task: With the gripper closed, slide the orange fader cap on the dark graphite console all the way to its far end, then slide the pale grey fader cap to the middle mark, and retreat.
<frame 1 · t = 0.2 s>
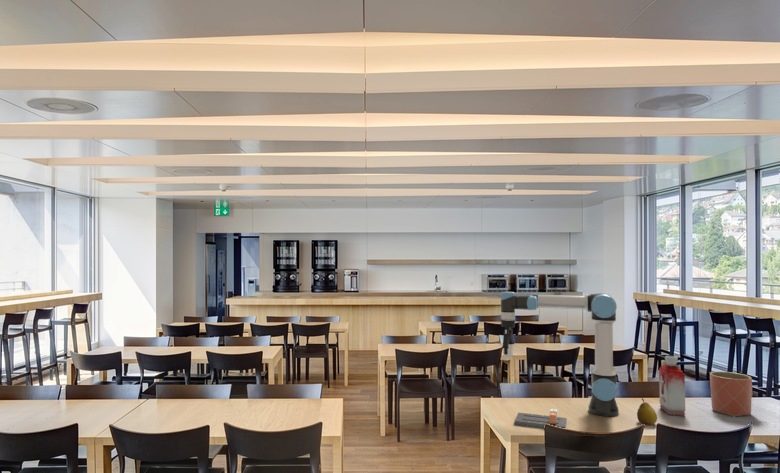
hand: (508, 358, 279), 28 cm above the table, fingers open, 13 cm apart
fruit: (647, 423, 255), on the table
bottle: (672, 412, 274), on the table
console: (540, 423, 254), on the table
fader orange: (552, 418, 248), point 4 cm above the table, slide at 1.0 cm
fader grey: (553, 414, 255), point 4 cm above the table, slide at 1.0 cm
planter: (731, 412, 274), on the table
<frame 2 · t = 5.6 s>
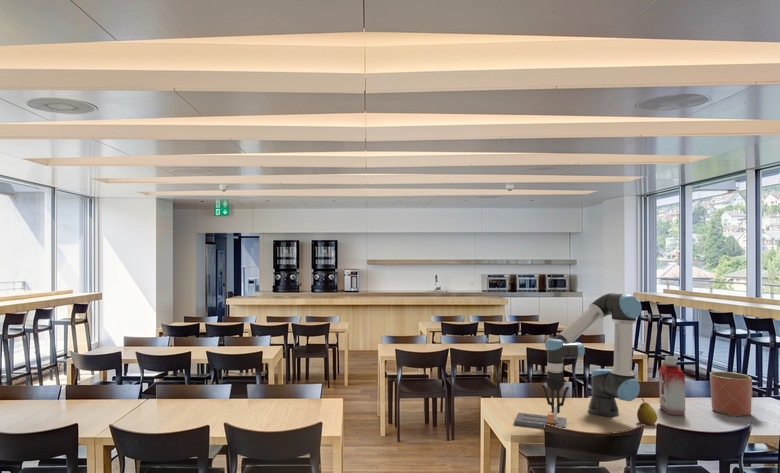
hand: (555, 419, 248), 4 cm above the table, fingers closed
fader orange: (550, 417, 249), point 4 cm above the table, slide at 1.9 cm, touching gripper
everything else where it was.
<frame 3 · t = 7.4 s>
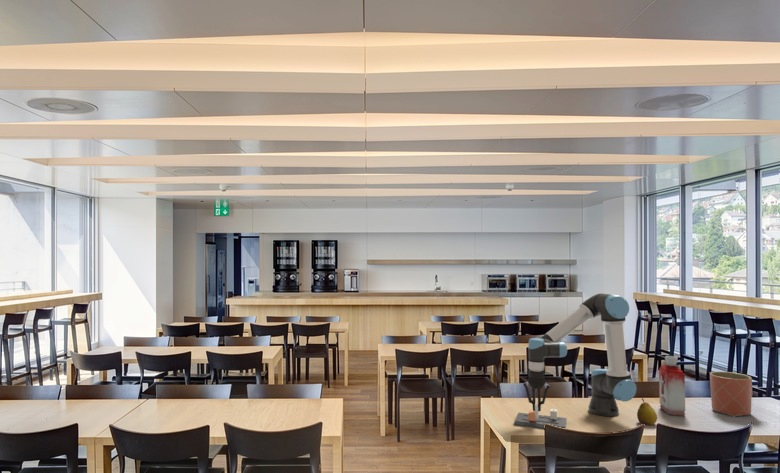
hand: (536, 417, 251), 4 cm above the table, fingers closed
fader orange: (532, 415, 252), point 4 cm above the table, slide at 10.9 cm, touching gripper
everything else where it was.
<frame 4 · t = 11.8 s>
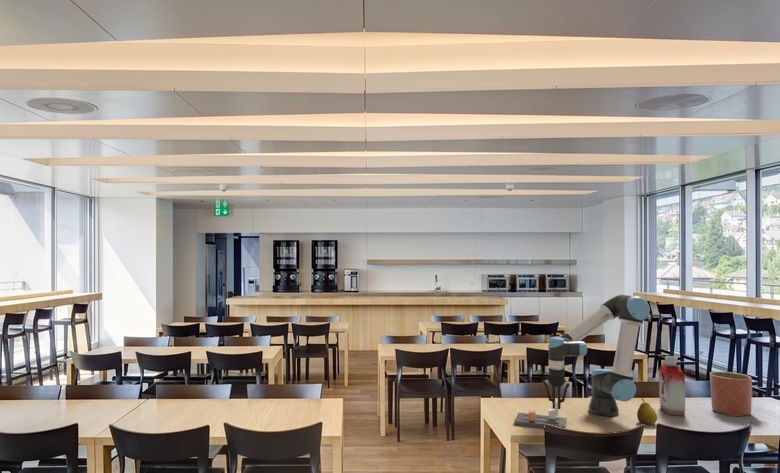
hand: (556, 415, 254), 4 cm above the table, fingers closed
fader orange: (532, 415, 252), point 4 cm above the table, slide at 10.9 cm
fader grey: (551, 413, 255), point 4 cm above the table, slide at 1.9 cm, touching gripper
everything else where it was.
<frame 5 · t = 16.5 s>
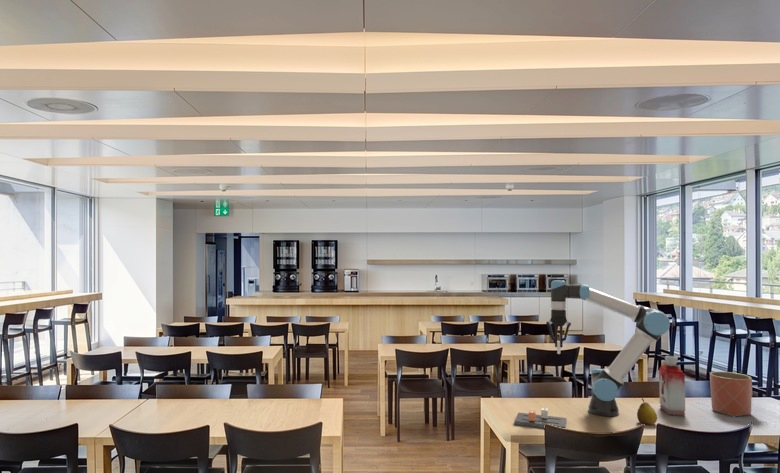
hand: (558, 353, 270), 32 cm above the table, fingers closed
fader grey: (544, 413, 257), point 4 cm above the table, slide at 5.4 cm
everything else where it was.
at the end: fader orange slide at 10.9 cm; fader grey slide at 5.4 cm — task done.
